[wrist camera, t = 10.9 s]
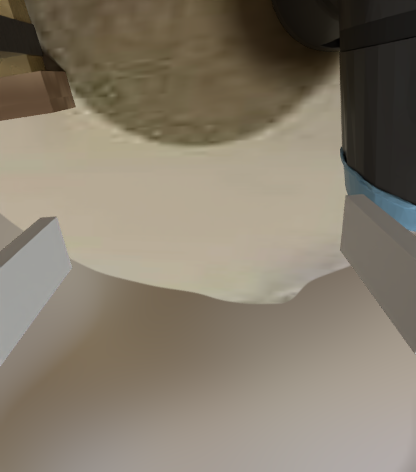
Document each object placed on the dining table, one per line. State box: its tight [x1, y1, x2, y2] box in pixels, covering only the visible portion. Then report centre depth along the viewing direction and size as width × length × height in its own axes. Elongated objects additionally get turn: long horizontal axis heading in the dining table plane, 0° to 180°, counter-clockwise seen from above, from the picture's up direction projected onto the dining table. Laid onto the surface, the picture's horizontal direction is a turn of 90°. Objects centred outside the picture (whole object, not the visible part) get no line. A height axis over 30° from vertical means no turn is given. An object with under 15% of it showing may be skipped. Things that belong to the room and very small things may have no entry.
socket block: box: [0, 71, 75, 121], centre depth 37 cm, size 4×7×6 cm, turn 98°
